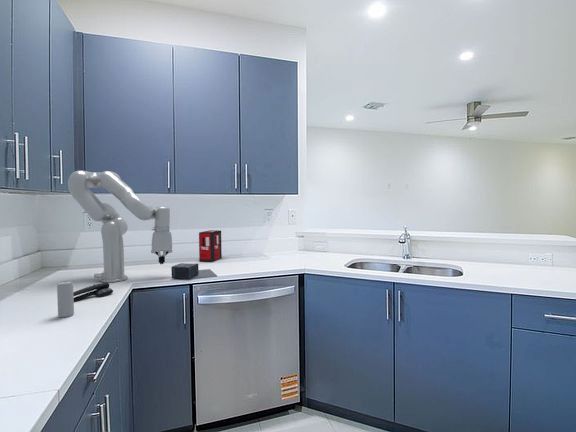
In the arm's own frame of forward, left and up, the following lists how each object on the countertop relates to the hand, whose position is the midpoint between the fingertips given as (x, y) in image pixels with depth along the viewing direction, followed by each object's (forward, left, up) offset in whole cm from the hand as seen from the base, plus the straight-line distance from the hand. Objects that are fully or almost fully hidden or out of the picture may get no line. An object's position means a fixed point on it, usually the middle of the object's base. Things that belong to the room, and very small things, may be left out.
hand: (161, 263), depth 181 cm
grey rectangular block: (-36, -49, -8) cm, 61 cm away
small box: (+7, -2, -4) cm, 8 cm away
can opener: (-31, -27, -8) cm, 42 cm away
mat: (+18, 0, -8) cm, 20 cm away
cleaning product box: (+35, +43, -8) cm, 56 cm away
